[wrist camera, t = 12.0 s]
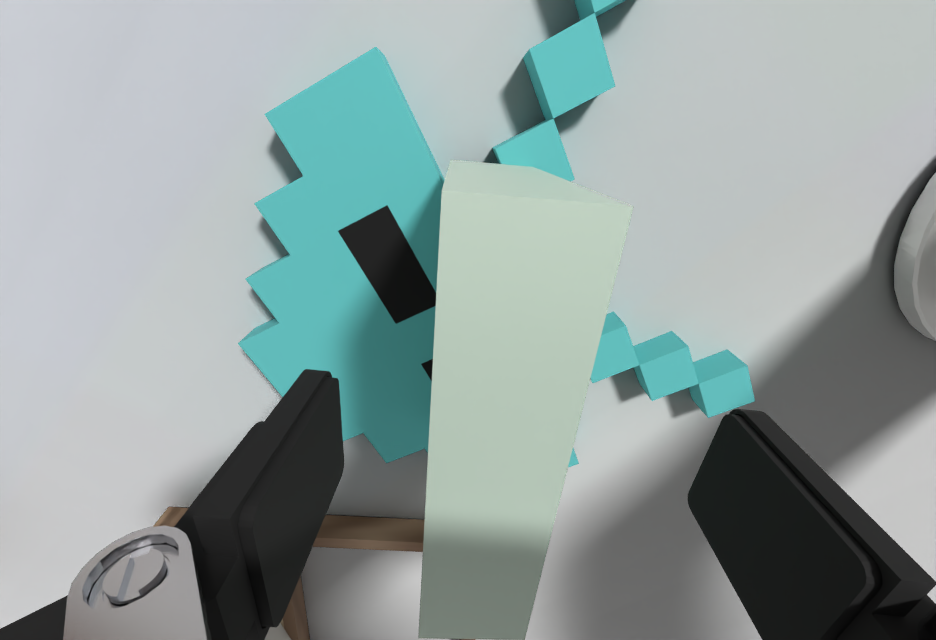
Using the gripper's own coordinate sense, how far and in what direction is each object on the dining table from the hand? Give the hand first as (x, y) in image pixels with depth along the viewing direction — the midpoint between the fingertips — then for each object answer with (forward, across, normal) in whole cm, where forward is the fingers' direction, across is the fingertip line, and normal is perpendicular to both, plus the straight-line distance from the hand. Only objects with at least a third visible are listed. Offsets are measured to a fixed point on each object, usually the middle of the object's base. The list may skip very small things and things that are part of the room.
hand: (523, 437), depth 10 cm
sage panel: (+8, +1, 0) cm, 8 cm away
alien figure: (+10, +1, 0) cm, 10 cm away
